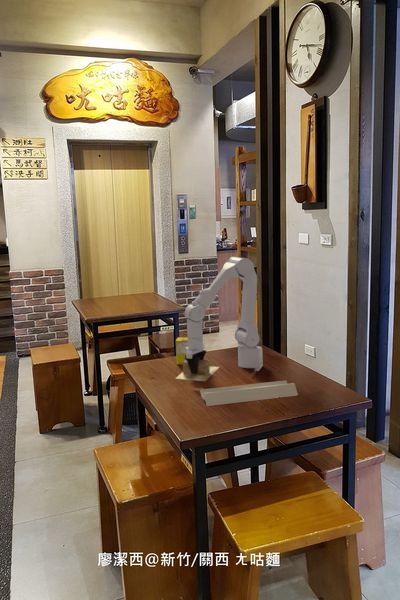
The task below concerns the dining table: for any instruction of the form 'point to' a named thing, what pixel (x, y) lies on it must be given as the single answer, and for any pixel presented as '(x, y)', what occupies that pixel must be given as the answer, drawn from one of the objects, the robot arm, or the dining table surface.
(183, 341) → the supplement box
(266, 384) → the crown molding
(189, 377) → the birch board
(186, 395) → the dining table surface
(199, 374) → the block
